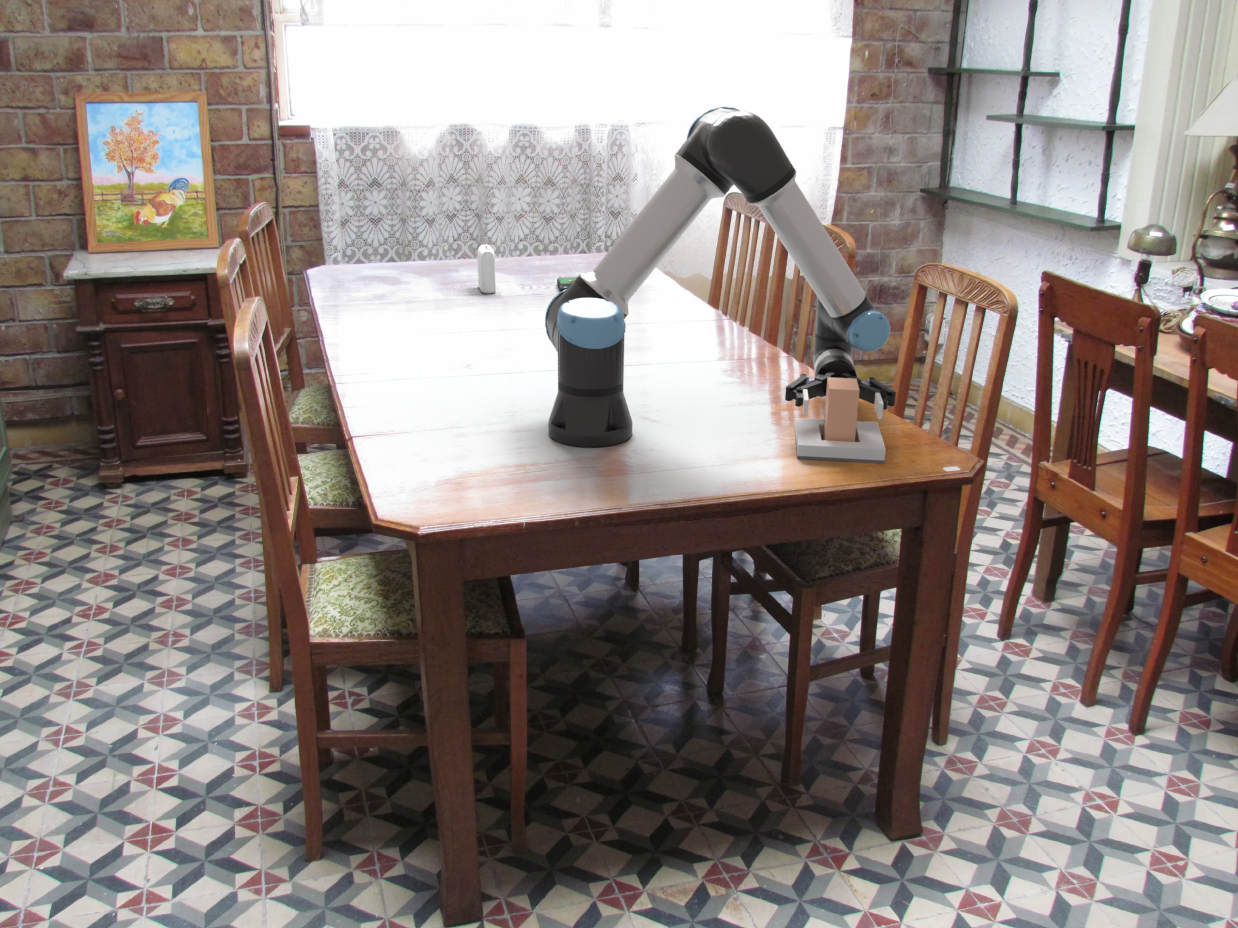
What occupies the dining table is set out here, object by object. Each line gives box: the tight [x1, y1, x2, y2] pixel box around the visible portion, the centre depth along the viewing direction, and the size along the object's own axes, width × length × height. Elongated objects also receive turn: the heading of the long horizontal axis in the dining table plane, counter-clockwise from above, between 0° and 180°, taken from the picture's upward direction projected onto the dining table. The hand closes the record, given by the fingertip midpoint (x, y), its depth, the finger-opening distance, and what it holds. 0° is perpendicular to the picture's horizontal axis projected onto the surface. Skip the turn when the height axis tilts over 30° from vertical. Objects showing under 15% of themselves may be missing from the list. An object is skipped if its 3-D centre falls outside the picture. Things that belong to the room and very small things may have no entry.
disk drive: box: [556, 276, 578, 293], centre depth 318 cm, size 10×3×15 cm
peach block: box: [823, 377, 860, 442], centre depth 199 cm, size 5×7×11 cm
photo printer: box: [476, 244, 496, 294], centre depth 314 cm, size 10×4×12 cm, turn 13°
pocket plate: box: [794, 417, 887, 464], centre depth 200 cm, size 15×15×2 cm
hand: (843, 409), depth 194 cm, fingers open, 12 cm apart
